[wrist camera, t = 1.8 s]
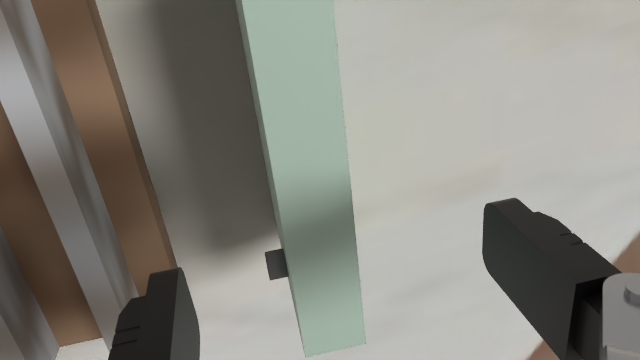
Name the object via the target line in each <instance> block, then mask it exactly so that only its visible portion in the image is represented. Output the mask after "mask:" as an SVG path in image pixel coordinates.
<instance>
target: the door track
mask: <svg viewBox="0 0 640 360" xmlns="http://www.w3.org/2000/svg"><path fill="white" fill-rule="evenodd" d="M174 268H178V267H177V264H176V260H175V257H174V254H173V251H172V248H171V244H170V241H169V238H168V235H167V231H166V228H165V225H164V222H163V219H162V215H161V212H160V209H159V206H158V202H157V199H156V196H155V193H154V189H153V186H152V183H151V180H150V177H149V173H148V170H147V167H146V164H145V160H144V157H143V154H142V151H141V148H140V144H139V141H138V138H137V135H136V131H135V128H134V125H133V122H132V118H131V115H130V112H129V109H128V106H127V102H126V99H125V96H124V93H123V89H122V86H121V83H120V80H119V77H118V73H117V70H116V67H115V64H114V60H113V57H112V54H111V51H110V47H109V44H108V41H107V38H106V35H105V31H104V28H103V25H102V22H101V18H100V15H99V12H98V9H97V6H96V2H95V0H0V360H55V358H56V356H57V353H58V350H59V347H62V346H66V345H71V344H75V343H80V342H85V341H89V340H94V339H98V338H103V339H104V341H105V343H106V346H107V348H108V350H109V352H110V350H111V349H112V341H113V337H114V335H115V329H116V325H117V321H118V316H119V314H120V313H121V311H122V310H123V309H124V307H125V306H126V305H127V303H128V302H129V301H130V299H131V298H136V297H141V296H145V295H146V291H147V285H148V279H149V275H150V274H151V273H155V272H160V271H165V270H170V269H174Z"/></svg>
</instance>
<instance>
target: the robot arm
mask: <svg viewBox="0 0 640 360" xmlns="http://www.w3.org/2000/svg"><path fill="white" fill-rule="evenodd" d="M482 254H483V260H484V263H485V266H486V268H487V270H488V272H489V274H490V275H491V276H492V277H493V279H494V280H495V281H496V282H497V284H498V285H499V286H500V287H501V288H502V290H503V291H504V292H505V293H506V294H507V296H508V297H509V298H510V299H511V301H512V302H513V303H514V304H515V305H516V307H517V308H518V309H519V310H520V311H521V313H522V314H523V315H524V316H525V318H526V319H527V320H528V321H529V322H530V324H531V325H532V326H533V327H534V328H535V330H536V331H537V332H538V333H539V335H540V336H541V337H542V338H543V339H544V341H545V342H546V343H547V344H548V345H549V347H550V348H551V349H552V350H553V352H554V353H555V354H556V355H557V356H558V358H559V359H560V360H640V274H635V273H622V272H620V271H619V270H618V269H617V268H615V267H614V266H613V265H612V264H611V263H609V262H608V261H607V260H606V259H605V258H603V257H602V256H601V255H600V254H598V253H597V252H596V251H595V250H594V249H592V248H591V247H590V246H589V245H588V244H586V243H583V242H582V240H581V239H580V238H579V237H578V236H577V235H575V234H574V233H573V234H572V233H571V231H570V230H569V229H568V228H567V227H566V226H564V225H563V224H562V223H561V222H560V221H558V220H557V219H554V218H552V217H550V216H547V215H545V214H543V213H540V212H532V211H531V210H530V209H529V208H528V207H527V206H525V205H524V204H523V203H522V202H521V201H520V200H518V199H517V198H510V199H506V200H501V201H496V202H492V203H487V204H486V205H485V208H484V220H483V246H482ZM199 357H200V332H199V325H198V319H197V315H196V311H195V308H194V305H193V302H192V298H191V295H190V292H189V288H188V285H187V282H186V278H185V275H184V272H183V270H182V268H181V267H179V268H174V269H170V270H165V271H160V272H155V273H151V274H150V275H149V279H148V285H147V291H146V295H145V296H141V297H136V298H131V299H130V301H129V302H128V303H127V305H126V306H125V307H124V309H123V310H122V311H121V313H120V314H119V316H118V321H117V325H116V329H115V335H114V337H113V341H112V349H111V350H110V354H109V358H108V360H199Z"/></svg>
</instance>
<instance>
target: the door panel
mask: <svg viewBox="0 0 640 360" xmlns="http://www.w3.org/2000/svg"><path fill="white" fill-rule="evenodd" d="M235 3H236V8H237V14H238V19H239V25H240V30H241V36H242V41H243V46H244V52H245V57H246V63H247V68H248V74H249V79H250V84H251V90H252V95H253V101H254V106H255V111H256V117H257V122H258V128H259V133H260V139H261V144H262V149H263V155H264V160H265V166H266V171H267V177H268V182H269V187H270V193H271V198H272V204H273V209H274V215H275V220H276V225H277V230H278V234H279V239H280V243H281V248H282V249H278V250H273V251H268V252H265V257H266V263H267V268H268V273H269V278H270V280H274V279H279V278H283V277H288V280H289V284H290V289H291V294H292V298H293V303H294V307H295V312H296V316H297V321H298V326H299V330H300V335H301V339H302V344H303V349H304V353H305V358H307V357H311V356H315V355H320V354H324V353H328V352H332V351H337V350H341V349H345V348H350V347H354V346H358V345H362V344H366V338H365V328H364V318H363V307H362V297H361V287H360V276H359V266H358V256H357V245H356V235H355V225H354V214H353V204H352V194H351V183H350V173H349V163H348V152H347V142H346V132H345V121H344V111H343V101H342V90H341V80H340V70H339V59H338V49H337V39H336V28H335V18H334V8H333V0H235Z"/></svg>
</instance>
